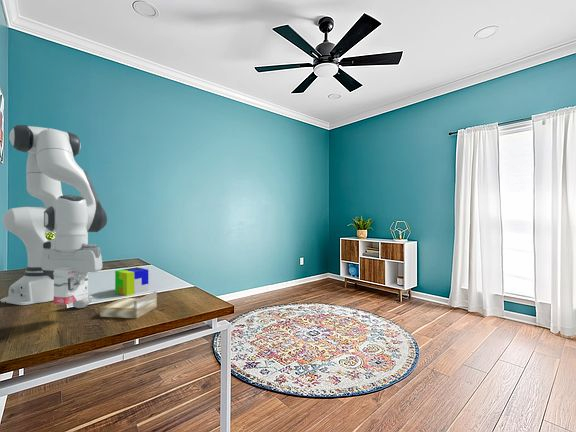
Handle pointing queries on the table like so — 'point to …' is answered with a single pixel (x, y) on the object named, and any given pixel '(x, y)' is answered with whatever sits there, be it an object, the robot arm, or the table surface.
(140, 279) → the puzzle toy
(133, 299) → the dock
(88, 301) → the grey tiered figurine
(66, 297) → the ink box
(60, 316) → the table surface
